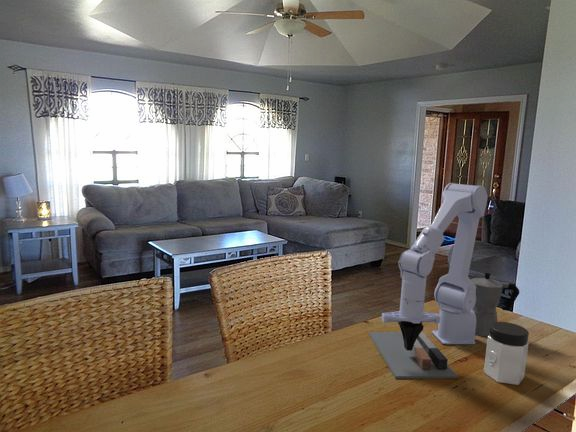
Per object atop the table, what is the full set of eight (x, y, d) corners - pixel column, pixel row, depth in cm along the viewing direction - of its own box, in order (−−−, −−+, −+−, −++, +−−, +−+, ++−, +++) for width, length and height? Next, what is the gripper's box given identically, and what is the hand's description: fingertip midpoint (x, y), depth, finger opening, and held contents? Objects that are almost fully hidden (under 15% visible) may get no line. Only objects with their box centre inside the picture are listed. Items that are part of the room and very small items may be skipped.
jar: (476, 368, 107) (481, 322, 105) (502, 364, 109) (508, 319, 107) (504, 387, 98) (510, 338, 96) (532, 383, 101) (538, 334, 99)
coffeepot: (457, 332, 127) (464, 273, 124) (457, 321, 136) (462, 265, 133) (516, 342, 122) (523, 281, 119) (511, 329, 131) (518, 272, 128)
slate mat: (368, 334, 124) (368, 332, 124) (419, 334, 125) (419, 332, 125) (395, 378, 100) (395, 376, 100) (457, 377, 102) (457, 375, 102)
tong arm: (399, 332, 124) (400, 322, 123) (414, 333, 124) (415, 323, 123) (421, 368, 104) (422, 357, 103) (439, 369, 104) (440, 357, 103)
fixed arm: (414, 339, 119) (414, 331, 119) (421, 339, 120) (422, 331, 119) (438, 369, 104) (439, 359, 103) (446, 369, 104) (447, 359, 103)
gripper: (389, 303, 104) (385, 356, 106) (447, 303, 105) (442, 356, 107) (380, 293, 111) (377, 343, 113) (435, 294, 112) (430, 343, 114)
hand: (408, 348), depth 110 cm, fingers closed
